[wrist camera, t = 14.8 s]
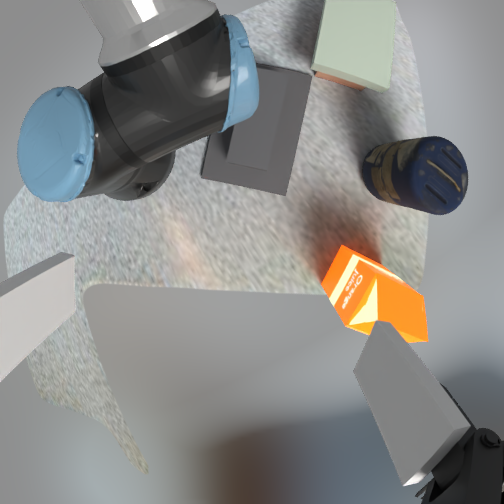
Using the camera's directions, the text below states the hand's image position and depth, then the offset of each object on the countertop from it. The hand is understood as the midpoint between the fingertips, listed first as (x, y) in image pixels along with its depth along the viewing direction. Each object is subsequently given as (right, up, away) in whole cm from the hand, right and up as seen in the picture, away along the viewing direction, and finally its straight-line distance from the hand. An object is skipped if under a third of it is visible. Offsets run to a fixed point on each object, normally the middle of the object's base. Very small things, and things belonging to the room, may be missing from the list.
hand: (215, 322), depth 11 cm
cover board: (+17, +35, +20) cm, 44 cm away
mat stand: (+2, +22, +30) cm, 37 cm away
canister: (+23, +16, +32) cm, 42 cm away
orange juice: (+18, -1, +36) cm, 41 cm away
